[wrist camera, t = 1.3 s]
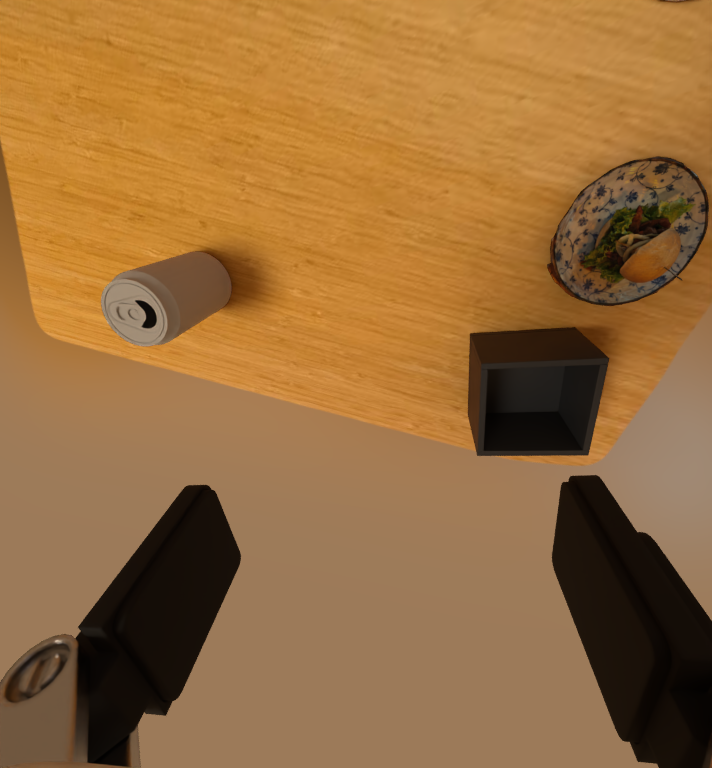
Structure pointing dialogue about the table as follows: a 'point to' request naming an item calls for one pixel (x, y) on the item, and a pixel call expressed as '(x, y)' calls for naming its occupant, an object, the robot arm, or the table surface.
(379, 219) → the table surface
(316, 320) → the table surface
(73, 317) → the table surface
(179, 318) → the beverage can
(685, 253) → the burger on plate
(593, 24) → the table surface
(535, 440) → the bin
